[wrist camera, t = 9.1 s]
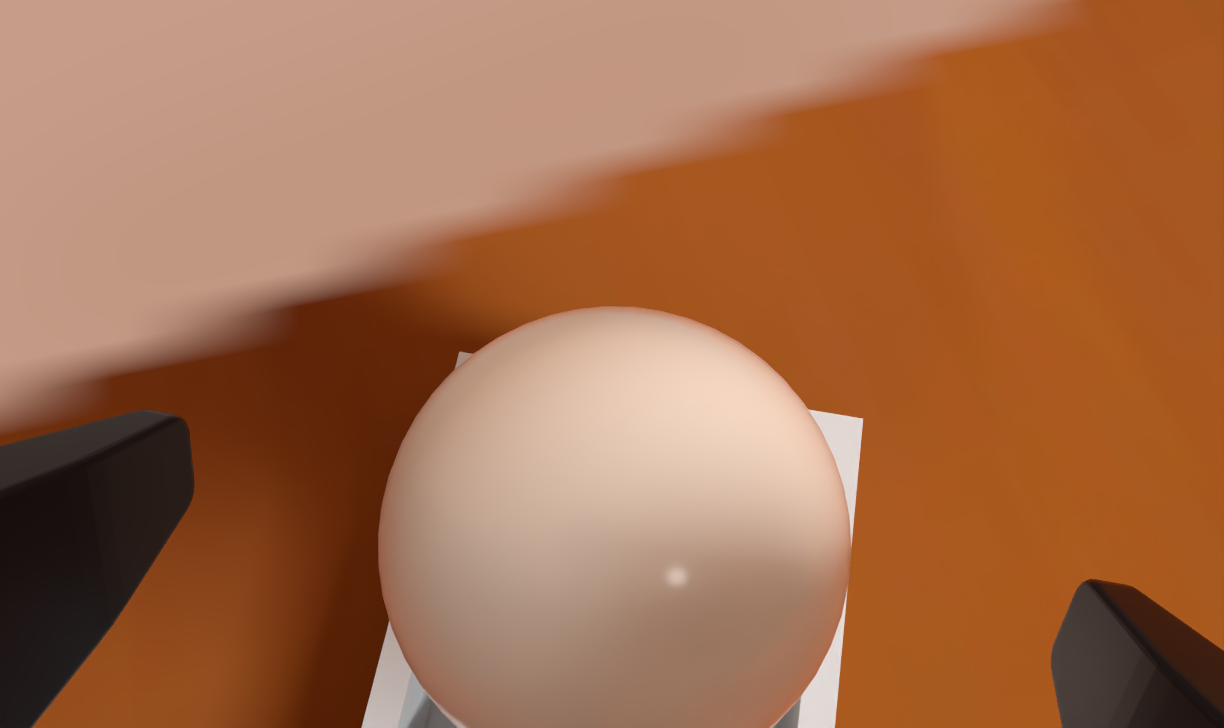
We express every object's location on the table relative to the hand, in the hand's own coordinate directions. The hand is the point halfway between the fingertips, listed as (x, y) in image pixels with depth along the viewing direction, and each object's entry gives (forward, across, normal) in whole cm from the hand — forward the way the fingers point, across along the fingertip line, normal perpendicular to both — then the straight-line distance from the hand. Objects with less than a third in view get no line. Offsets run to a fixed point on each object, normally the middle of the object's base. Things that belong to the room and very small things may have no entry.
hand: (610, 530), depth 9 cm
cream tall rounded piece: (+7, 0, +6) cm, 9 cm away
